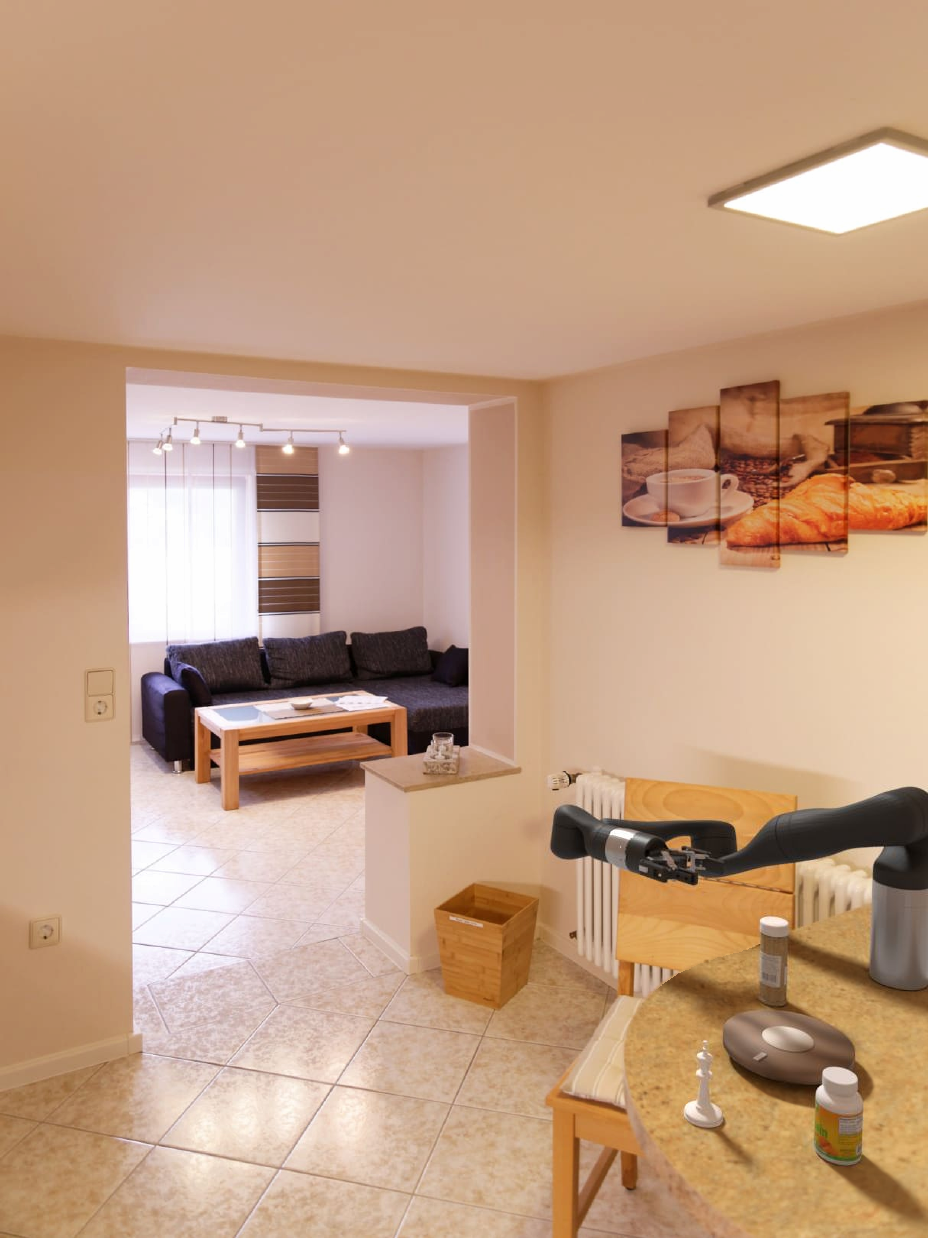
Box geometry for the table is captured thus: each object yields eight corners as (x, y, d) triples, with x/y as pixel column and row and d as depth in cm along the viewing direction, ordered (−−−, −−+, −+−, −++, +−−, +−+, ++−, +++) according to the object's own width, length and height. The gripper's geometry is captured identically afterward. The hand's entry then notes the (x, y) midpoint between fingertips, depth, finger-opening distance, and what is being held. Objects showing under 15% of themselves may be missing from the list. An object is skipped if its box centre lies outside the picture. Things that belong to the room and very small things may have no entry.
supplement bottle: (805, 1140, 115) (808, 1064, 115) (847, 1138, 116) (850, 1062, 115) (826, 1168, 110) (829, 1088, 109) (870, 1166, 110) (872, 1087, 110)
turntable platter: (764, 1008, 147) (764, 997, 146) (877, 1053, 133) (878, 1041, 133) (697, 1046, 135) (698, 1035, 135) (815, 1100, 121) (815, 1088, 121)
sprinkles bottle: (792, 1003, 152) (795, 922, 151) (774, 1010, 149) (777, 928, 148) (769, 992, 155) (772, 913, 155) (751, 999, 153) (753, 919, 152)
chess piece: (724, 1110, 122) (726, 1035, 121) (721, 1131, 117) (723, 1054, 116) (685, 1102, 123) (687, 1029, 123) (681, 1123, 119) (683, 1047, 118)
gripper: (658, 863, 177) (733, 886, 165) (610, 880, 168) (686, 905, 156) (659, 825, 177) (734, 844, 165) (611, 839, 167) (687, 861, 155)
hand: (711, 874), depth 160 cm, fingers open, 8 cm apart
